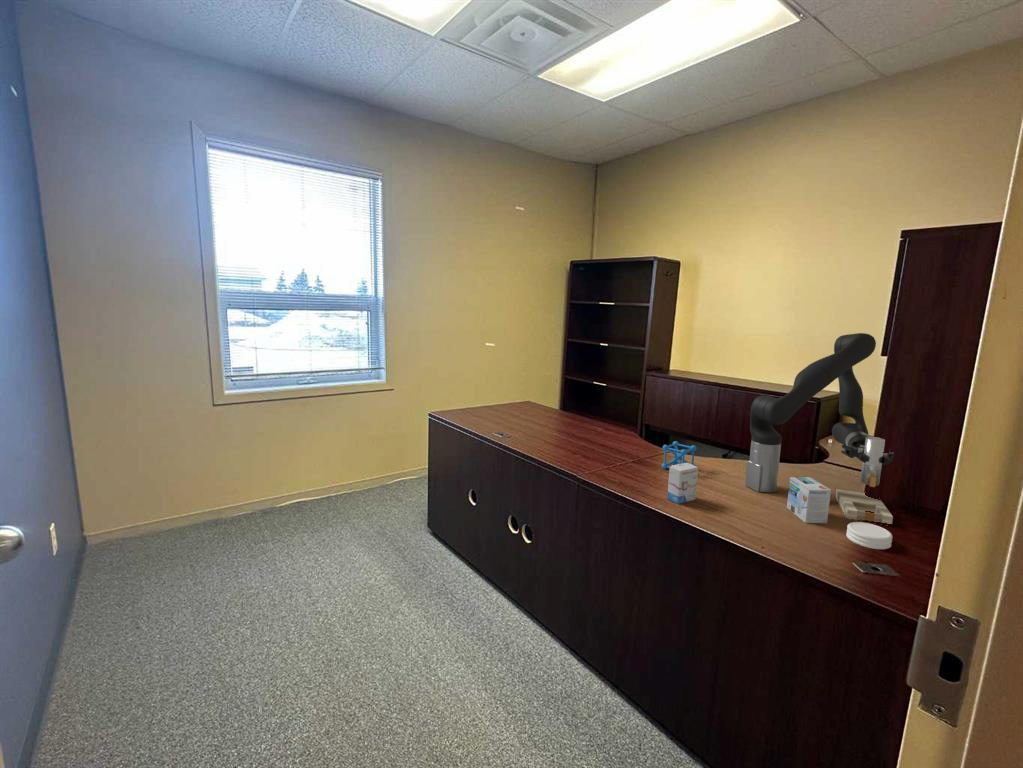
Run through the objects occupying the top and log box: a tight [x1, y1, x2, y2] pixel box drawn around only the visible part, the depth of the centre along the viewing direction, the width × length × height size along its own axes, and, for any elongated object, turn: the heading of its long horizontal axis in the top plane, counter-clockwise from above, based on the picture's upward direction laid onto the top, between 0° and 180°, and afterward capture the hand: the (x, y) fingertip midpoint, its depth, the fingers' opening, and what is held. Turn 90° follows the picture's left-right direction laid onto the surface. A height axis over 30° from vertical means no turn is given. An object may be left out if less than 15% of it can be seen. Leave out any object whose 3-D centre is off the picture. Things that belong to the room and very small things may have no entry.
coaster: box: [845, 521, 893, 550], centre depth 129 cm, size 10×10×4 cm
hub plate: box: [835, 488, 894, 525], centre depth 147 cm, size 18×11×3 cm, turn 154°
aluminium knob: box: [859, 436, 886, 488], centre depth 140 cm, size 6×5×14 cm
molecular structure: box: [661, 440, 697, 470], centre depth 185 cm, size 10×10×10 cm
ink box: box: [666, 462, 699, 505], centre depth 155 cm, size 9×5×12 cm, turn 117°
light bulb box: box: [786, 476, 832, 524], centre depth 143 cm, size 11×7×11 cm, turn 178°
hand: (875, 460), depth 138 cm, fingers closed on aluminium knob, 4 cm apart
